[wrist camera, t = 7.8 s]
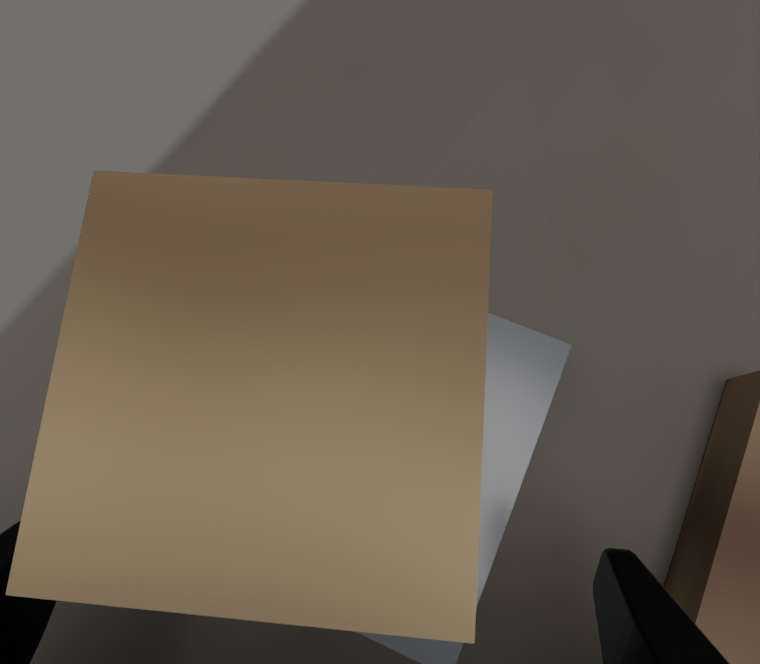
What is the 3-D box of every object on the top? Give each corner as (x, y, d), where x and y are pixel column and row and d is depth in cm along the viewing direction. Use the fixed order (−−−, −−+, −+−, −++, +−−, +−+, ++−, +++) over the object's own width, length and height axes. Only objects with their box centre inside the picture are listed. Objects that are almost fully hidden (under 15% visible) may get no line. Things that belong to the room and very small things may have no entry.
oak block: (434, 528, 15) (474, 643, 5) (263, 513, 15) (5, 594, 6) (444, 358, 16) (492, 189, 6) (283, 346, 16) (93, 171, 7)
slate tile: (448, 664, 15) (451, 677, 14) (150, 521, 16) (134, 525, 15) (562, 351, 17) (572, 345, 16) (285, 243, 18) (277, 231, 17)
